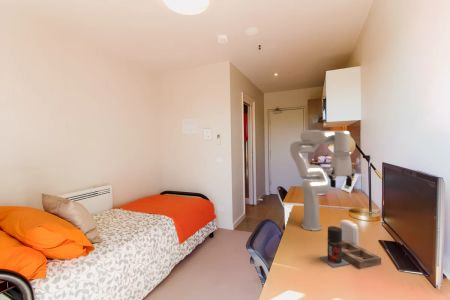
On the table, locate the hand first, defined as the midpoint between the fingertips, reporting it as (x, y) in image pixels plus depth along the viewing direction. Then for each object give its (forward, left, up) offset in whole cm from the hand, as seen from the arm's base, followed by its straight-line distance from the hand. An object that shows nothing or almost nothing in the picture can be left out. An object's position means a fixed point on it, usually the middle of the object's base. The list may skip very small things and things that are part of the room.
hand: (340, 186), depth 117 cm
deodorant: (+11, -14, -32) cm, 36 cm away
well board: (+10, -2, -32) cm, 34 cm away
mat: (+11, -14, -32) cm, 37 cm away
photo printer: (-2, +8, -33) cm, 33 cm away
